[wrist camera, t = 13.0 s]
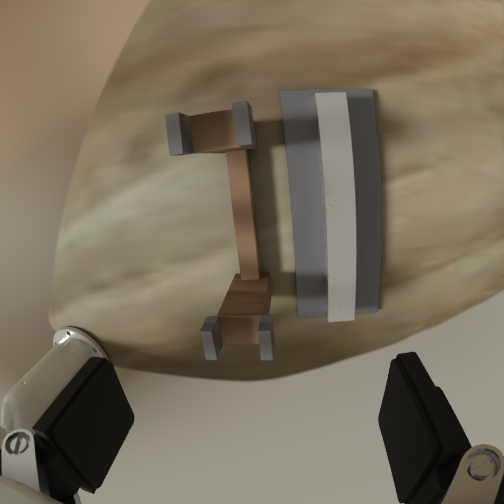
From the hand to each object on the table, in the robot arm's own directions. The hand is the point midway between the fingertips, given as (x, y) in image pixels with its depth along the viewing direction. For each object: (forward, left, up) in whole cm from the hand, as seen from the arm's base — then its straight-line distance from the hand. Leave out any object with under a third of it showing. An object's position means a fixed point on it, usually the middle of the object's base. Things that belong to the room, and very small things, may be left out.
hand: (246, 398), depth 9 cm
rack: (-3, +3, -26) cm, 26 cm away
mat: (+6, -2, -26) cm, 27 cm away
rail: (+6, -2, -25) cm, 26 cm away
